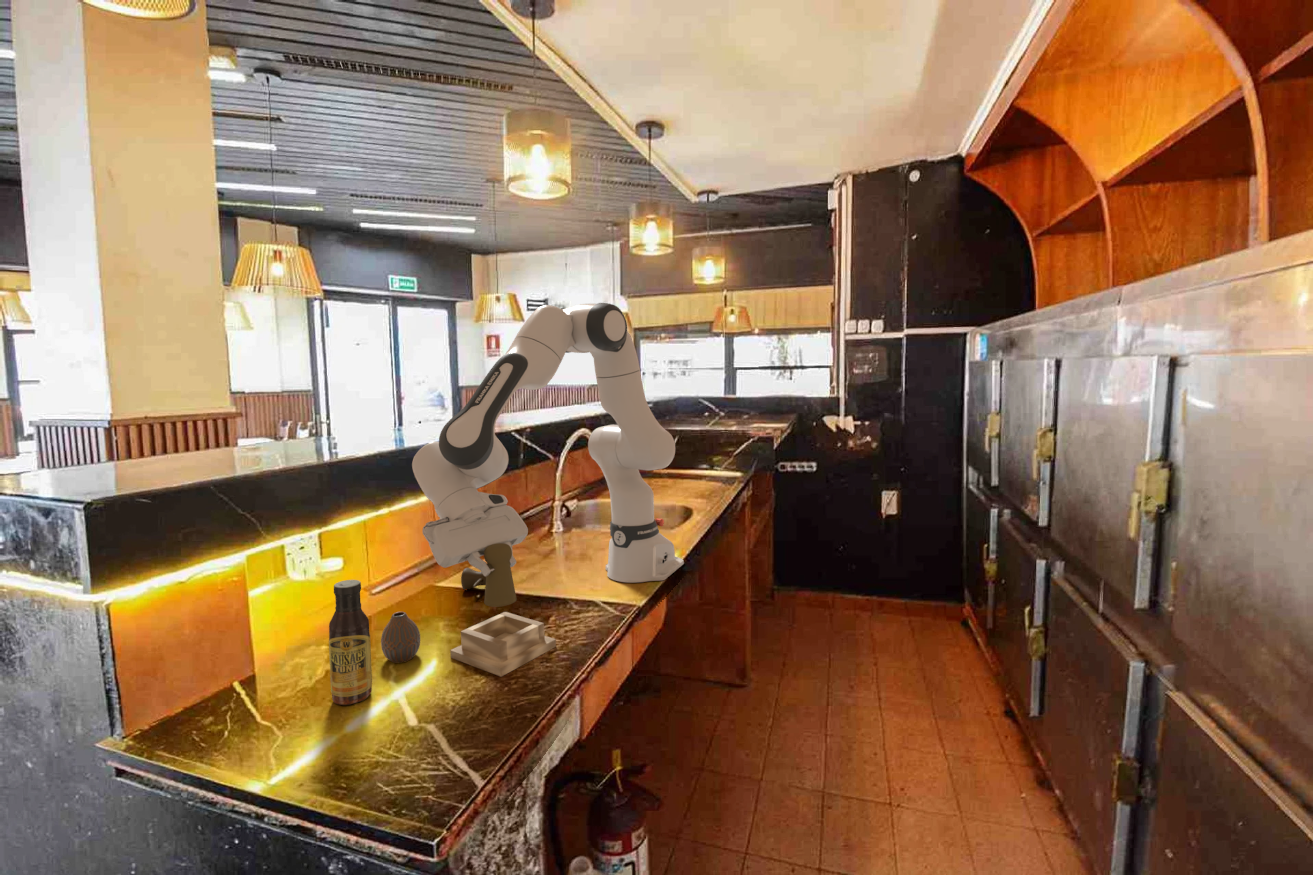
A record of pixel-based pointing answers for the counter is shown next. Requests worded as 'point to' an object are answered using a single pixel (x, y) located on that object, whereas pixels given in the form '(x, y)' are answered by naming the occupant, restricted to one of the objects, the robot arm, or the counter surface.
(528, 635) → the shaker holder
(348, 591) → the sauce bottle
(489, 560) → the cork
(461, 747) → the counter surface
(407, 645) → the vase
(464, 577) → the kendama
